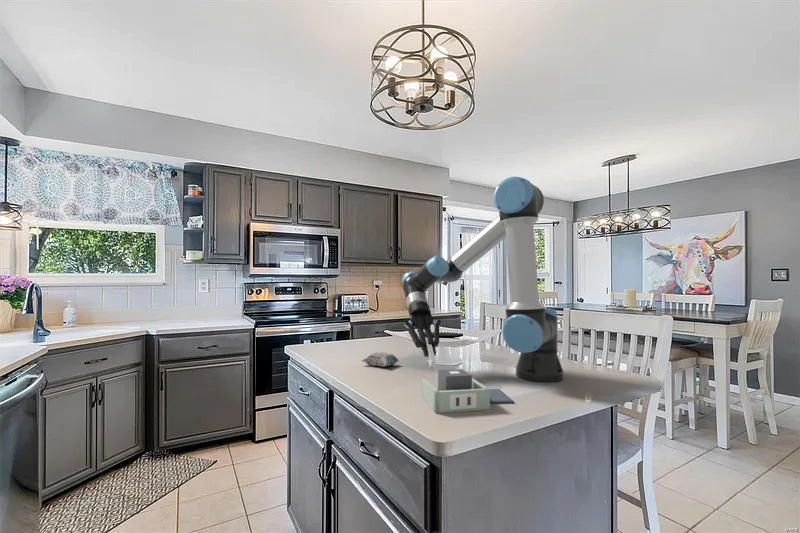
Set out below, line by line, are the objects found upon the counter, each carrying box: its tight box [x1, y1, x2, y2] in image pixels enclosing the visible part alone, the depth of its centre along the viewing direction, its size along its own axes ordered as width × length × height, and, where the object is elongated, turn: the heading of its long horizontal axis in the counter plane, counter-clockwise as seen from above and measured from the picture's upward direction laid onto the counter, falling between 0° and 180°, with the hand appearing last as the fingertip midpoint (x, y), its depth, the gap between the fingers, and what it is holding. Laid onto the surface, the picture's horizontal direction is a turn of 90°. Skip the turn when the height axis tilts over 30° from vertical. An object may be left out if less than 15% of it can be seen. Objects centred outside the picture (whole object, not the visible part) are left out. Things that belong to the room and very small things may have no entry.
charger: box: [437, 368, 473, 391], centre depth 104 cm, size 7×7×8 cm
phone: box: [489, 388, 515, 405], centre depth 109 cm, size 6×12×1 cm, turn 5°
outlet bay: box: [421, 377, 491, 414], centre depth 103 cm, size 14×12×5 cm
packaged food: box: [360, 351, 400, 368], centre depth 147 cm, size 9×12×5 cm
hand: (432, 364), depth 122 cm, fingers closed
